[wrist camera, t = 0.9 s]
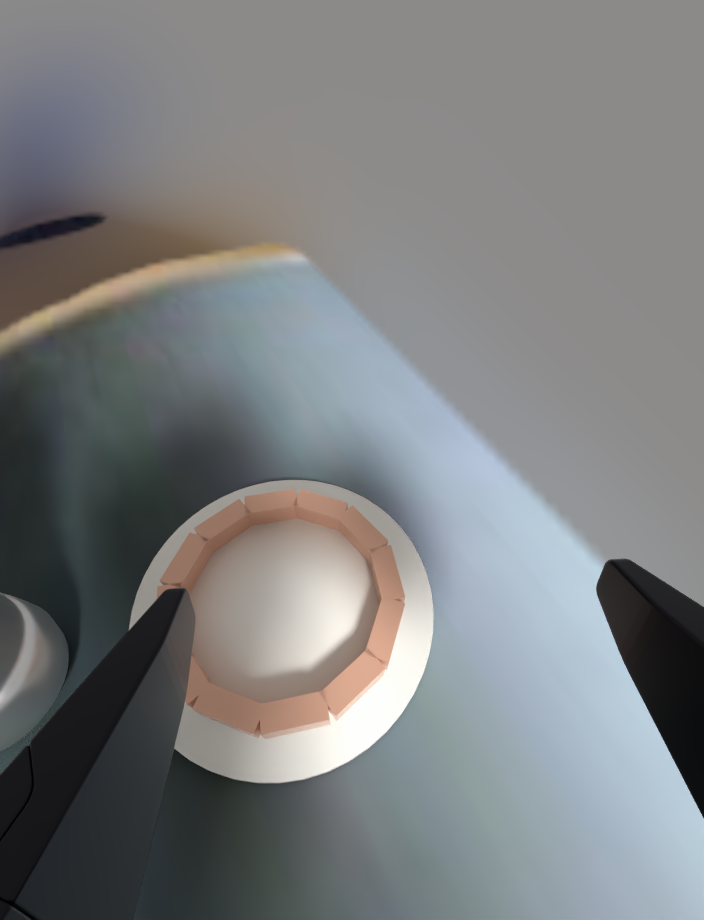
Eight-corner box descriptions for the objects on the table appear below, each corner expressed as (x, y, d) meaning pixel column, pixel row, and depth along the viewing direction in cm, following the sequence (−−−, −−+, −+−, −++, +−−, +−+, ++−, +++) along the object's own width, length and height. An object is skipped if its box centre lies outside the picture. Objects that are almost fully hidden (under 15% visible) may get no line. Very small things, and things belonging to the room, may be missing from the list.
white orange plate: (383, 846, 20) (387, 849, 18) (66, 708, 23) (42, 699, 21) (457, 527, 29) (464, 509, 27) (224, 460, 32) (217, 439, 30)
